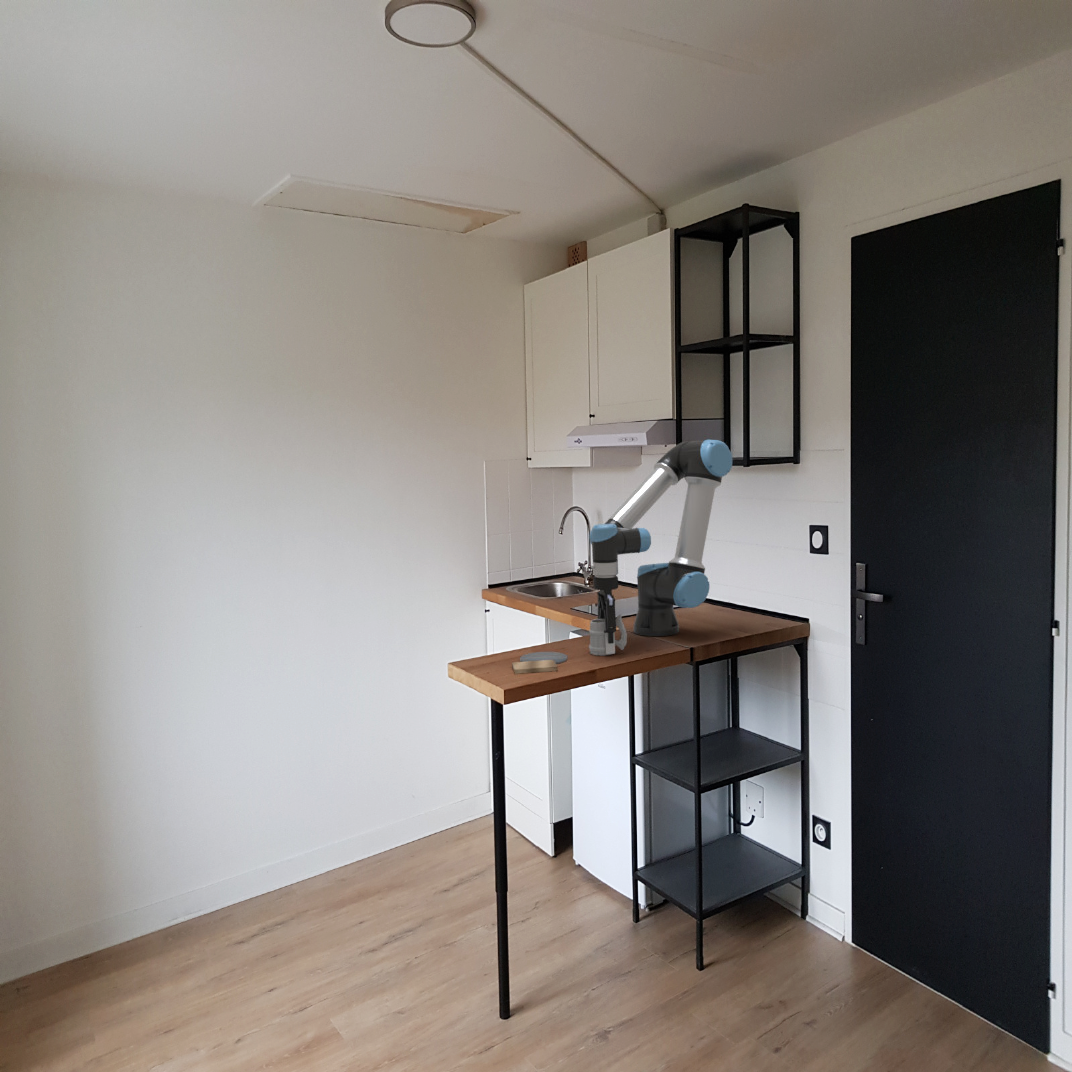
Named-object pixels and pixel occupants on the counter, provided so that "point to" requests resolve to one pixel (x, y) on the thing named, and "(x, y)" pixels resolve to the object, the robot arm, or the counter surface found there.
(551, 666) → the small board
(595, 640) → the mug
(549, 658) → the coaster
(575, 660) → the counter surface
